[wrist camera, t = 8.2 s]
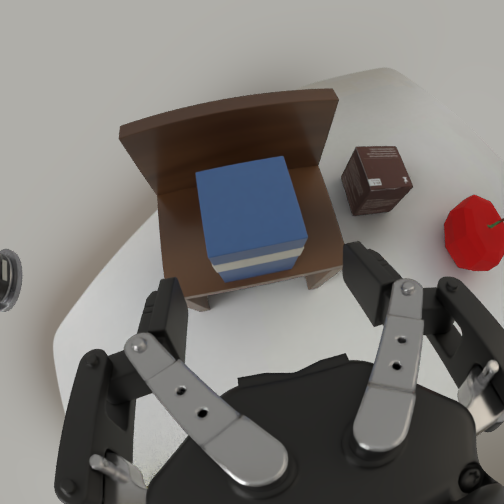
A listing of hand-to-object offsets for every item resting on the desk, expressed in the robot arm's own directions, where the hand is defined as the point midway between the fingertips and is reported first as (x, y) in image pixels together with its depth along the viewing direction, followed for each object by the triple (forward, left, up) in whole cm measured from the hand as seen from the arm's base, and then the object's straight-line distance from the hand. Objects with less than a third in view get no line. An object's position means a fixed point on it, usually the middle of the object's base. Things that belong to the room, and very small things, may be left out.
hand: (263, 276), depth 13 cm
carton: (+3, +3, -7) cm, 8 cm away
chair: (+4, +4, -19) cm, 20 cm away
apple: (+23, -21, -19) cm, 37 cm away
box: (+20, -4, -19) cm, 28 cm away
